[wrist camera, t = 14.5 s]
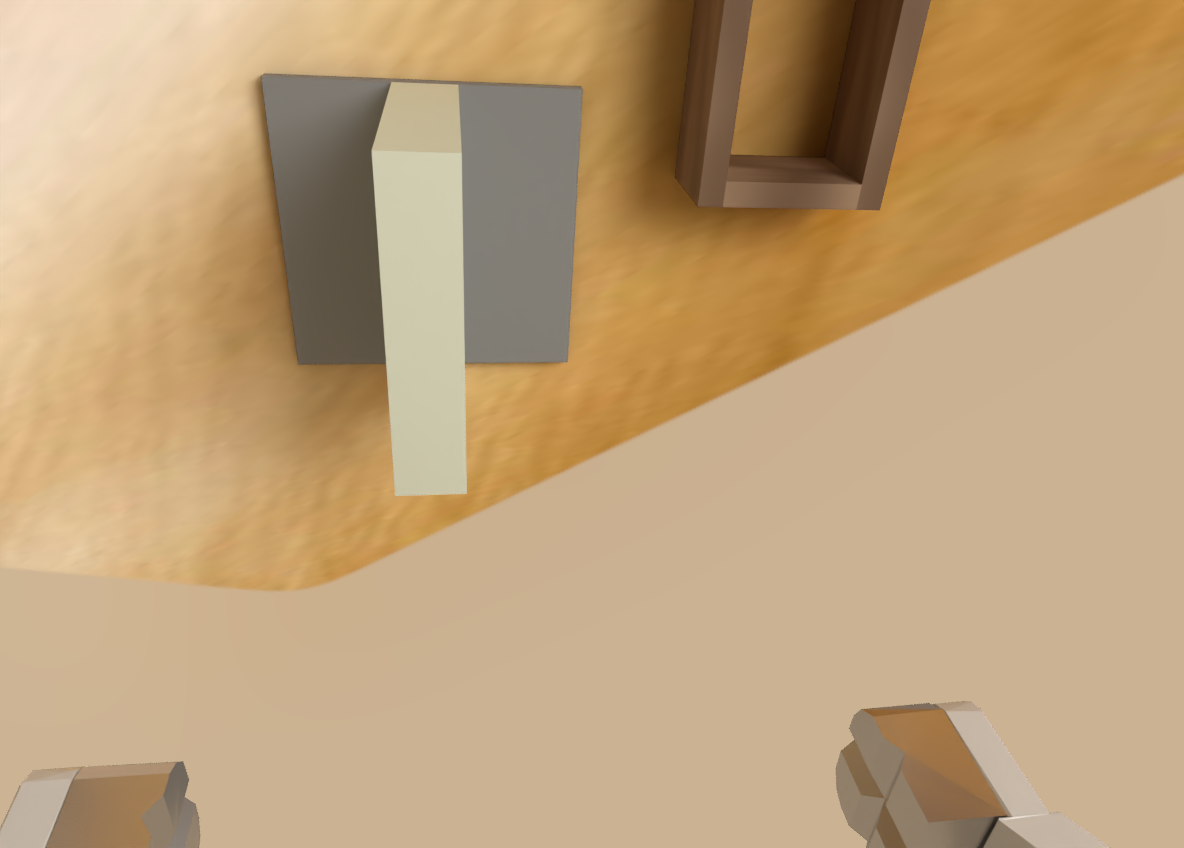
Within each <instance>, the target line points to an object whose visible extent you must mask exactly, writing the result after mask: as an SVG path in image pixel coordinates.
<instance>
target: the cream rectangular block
mask: <svg viewBox="0 0 1184 848" xmlns="http://www.w3.org/2000/svg"><path fill="white" fill-rule="evenodd" d="M372 164H373V179H374V193H375V208H376V223H377V237H378V252H379V266H380V281H381V295H382V310H383V325H384V339H385V354H386V368H387V383H388V397H389V412H390V427H391V441H392V456H393V470H394V485H395V496H410V495H441V494H467V475H466V408H465V341H464V274H463V207H462V149H461V129H460V108H459V88H458V85H453V84H428V83H403V82H391V85H390V89H389V92H388V96H387V99H386V102H385V106H384V109H383V113H382V116H381V120H380V123H379V127H378V130H377V134H376V137H375V140H374V144H373V147H372Z"/></svg>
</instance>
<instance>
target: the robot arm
mask: <svg viewBox="0 0 1184 848" xmlns="http://www.w3.org/2000/svg"><path fill="white" fill-rule="evenodd" d="M849 729H850V731H851V733H852V735H853V737H854V739H855V740H854V741H852V742H851V743H850V744H849V745H848V746H846V747H845V748H844V749H843V750H841V752H840V756H839V759H838V763H837V766H836V785H837V793H838V797H839V800H840V804H841V808H842V810H843V813H844V815H845V817H846V820H847V822H848V825H849V826H850V827H851V828H852V829H854V830H855V831H856V832H857V833H859V834H860V835H861V836H862V837H863V838H864V839H866V840H867V846H866V848H1110V847H1109V846H1107V845H1106V844H1104V843H1103V842H1102V841H1100V840H1098V839H1097V838H1096V837H1094V836H1093V835H1091V834H1090V833H1089V832H1087V831H1086V830H1084V829H1083V828H1081V827H1080V826H1079V825H1077V824H1076V823H1074V822H1073V821H1072V820H1070V819H1069V818H1067V817H1066V816H1064V815H1063V814H1062V813H1060V812H1056V813H1049V812H1048V811H1047V809H1046V808H1045V806H1044V804H1043V803H1042V801H1041V800H1040V798H1039V797H1038V795H1037V794H1036V792H1035V791H1034V789H1033V788H1032V786H1031V785H1030V783H1029V782H1028V780H1027V779H1026V777H1025V776H1024V774H1023V773H1022V771H1021V770H1020V768H1019V767H1018V765H1017V764H1016V762H1015V761H1014V759H1013V757H1012V756H1011V754H1010V753H1009V751H1008V750H1007V748H1006V747H1005V745H1004V744H1003V742H1002V741H1001V740H1000V738H999V736H998V735H997V733H996V732H995V730H994V729H993V727H992V726H991V724H990V723H989V721H988V719H987V718H986V717H985V715H984V713H983V712H982V710H981V709H980V708H979V707H977V706H976V705H975V704H974V703H972V702H971V701H970V702H969V701H962V702H951V703H939V704H930V703H926V704H914V705H904V706H892V707H881V708H870V709H861V710H860V711H859V712H858V713H856V714H855V715H854V717H853V719H852V722H851V725H850V728H849ZM188 782H189V778H188V775H187V772H186V769H185V766H184V763H183V762H165V763H147V764H146V763H145V764H127V765H108V766H91V767H71V768H58V769H42V770H33V771H32V772H31V773H30V774H29V775H28V777H27V778H26V779H25V780H24V781H23V782H22V784H21V785H20V786H19V788H18V791H17V793H16V795H15V797H14V799H13V801H12V804H11V806H10V808H9V810H8V812H7V815H6V817H5V819H4V821H3V823H2V825H1V828H0V848H199V844H200V826H199V816H198V812H197V808H196V804H195V803H193V802H191V801H190V800H188V799H187V798H185V793H186V789H187V786H188Z"/></svg>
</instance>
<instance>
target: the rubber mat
mask: <svg viewBox="0 0 1184 848" xmlns="http://www.w3.org/2000/svg"><path fill="white" fill-rule="evenodd" d="M261 80H262V87H263V95H264V103H265V111H266V118H267V126H268V134H269V142H270V149H271V157H272V165H273V173H274V180H275V188H276V196H277V204H278V211H279V219H280V227H281V234H282V242H283V250H284V258H285V265H286V273H287V281H288V289H289V296H290V304H291V312H292V320H293V327H294V335H295V343H296V351H297V358H298V365H305V364H386V354H385V339H384V325H383V310H382V295H381V281H380V266H379V252H378V237H377V223H376V208H375V193H374V179H373V164H372V147H373V144H374V140H375V137H376V134H377V130H378V127H379V123H380V120H381V116H382V113H383V109H384V106H385V102H386V99H387V96H388V92H389V89H390V85H391V82H403V83H428V84H453V85H458V88H459V108H460V129H461V149H462V207H463V274H464V341H465V363H529V362H568V347H569V328H570V310H571V292H572V274H573V255H574V237H575V219H576V200H577V182H578V164H579V146H580V127H581V109H582V91H583V89H582V88H581V86H559V85H534V84H510V83H485V82H460V81H435V80H410V79H385V78H361V77H336V76H311V75H286V74H263V75H262V76H261Z"/></svg>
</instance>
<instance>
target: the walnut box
mask: <svg viewBox="0 0 1184 848" xmlns="http://www.w3.org/2000/svg"><path fill="white" fill-rule="evenodd" d="M930 1H931V0H856V4H855V9H854V14H853V19H852V24H851V29H850V34H849V39H848V44H847V49H846V54H845V58H844V63H843V68H842V73H841V78H840V83H839V88H838V93H837V98H836V103H835V108H834V113H833V118H832V123H831V128H830V133H829V138H828V143H827V148H826V153H825V158H823V157H788V156H753V155H730V154H731V147H732V140H733V133H734V126H735V119H736V112H737V106H738V99H739V92H740V85H741V78H742V71H743V64H744V57H745V50H746V44H747V37H748V30H749V23H750V16H751V9H752V2H753V0H695V5H694V14H693V22H692V31H691V40H690V49H689V58H688V66H687V75H686V84H685V93H684V102H683V110H682V119H681V128H680V137H679V146H678V155H677V163H676V172H675V178H676V179H677V181H678V182H679V183H680V184H681V186H682V187H683V188H684V190H685V191H686V192H687V193H688V195H689V196H690V197H691V199H692V200H693V201H694V202H695V204H696V205H697V206H698V207H739V208H791V209H843V210H880V207H881V203H882V199H883V195H884V191H885V187H886V182H887V178H888V174H889V170H890V166H891V162H892V158H893V154H894V149H895V145H896V141H897V137H898V133H899V129H900V125H901V121H902V116H903V112H904V108H905V104H906V100H907V96H908V92H909V88H910V83H911V79H912V75H913V71H914V67H915V63H916V59H917V55H918V50H919V46H920V42H921V38H922V34H923V30H924V26H925V22H926V17H927V13H928V9H929V5H930Z"/></svg>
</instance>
